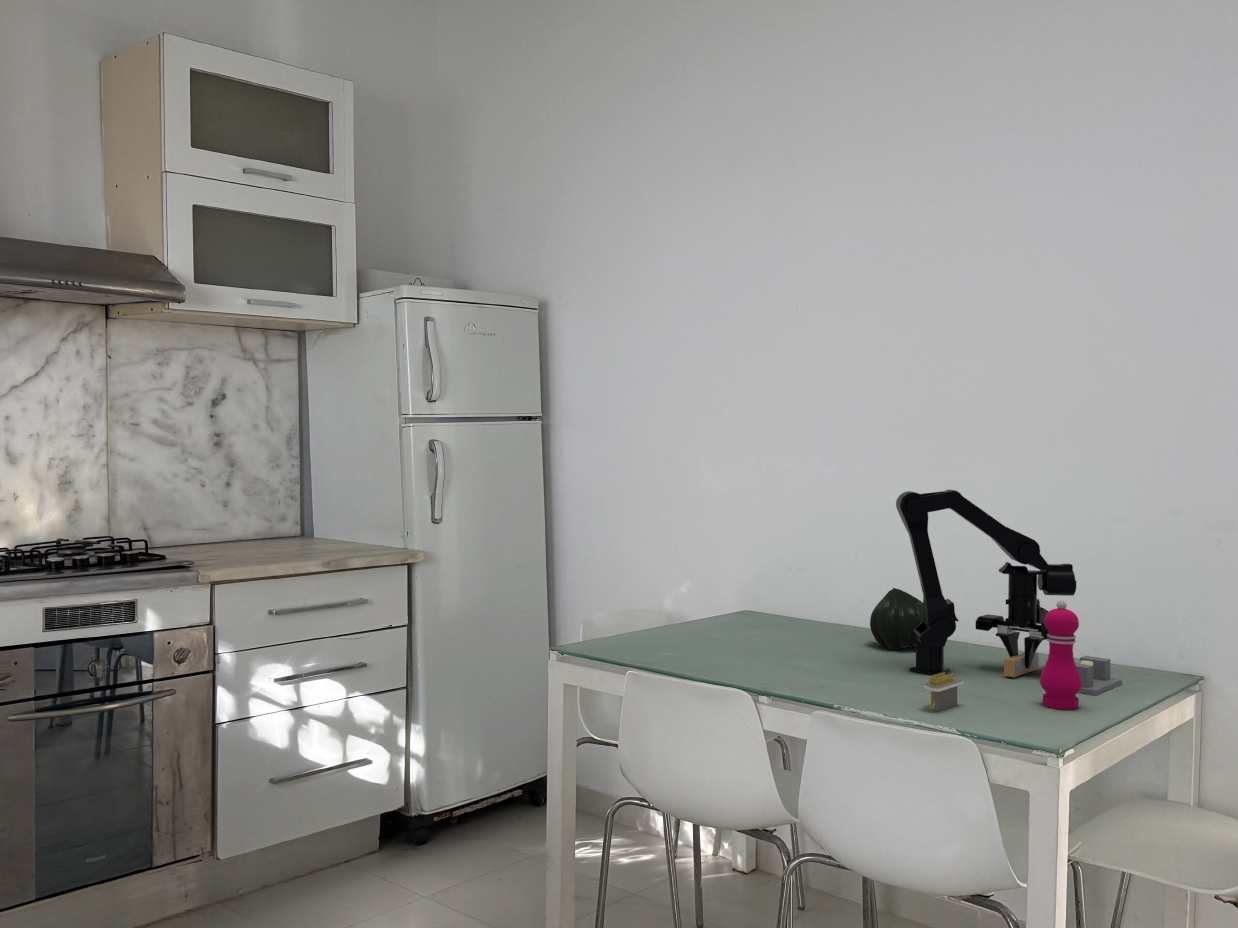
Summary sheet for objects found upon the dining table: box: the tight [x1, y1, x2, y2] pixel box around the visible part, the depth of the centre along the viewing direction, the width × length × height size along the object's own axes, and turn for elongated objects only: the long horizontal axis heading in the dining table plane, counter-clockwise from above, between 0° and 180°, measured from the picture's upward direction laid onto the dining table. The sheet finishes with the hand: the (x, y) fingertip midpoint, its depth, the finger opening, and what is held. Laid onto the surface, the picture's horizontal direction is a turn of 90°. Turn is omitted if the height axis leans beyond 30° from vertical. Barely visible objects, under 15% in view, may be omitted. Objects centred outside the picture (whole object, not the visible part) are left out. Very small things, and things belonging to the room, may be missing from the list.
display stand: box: [1075, 655, 1123, 696], centre depth 209 cm, size 14×9×5 cm, turn 134°
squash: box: [869, 587, 923, 651], centre depth 249 cm, size 14×15×15 cm
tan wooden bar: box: [1003, 651, 1040, 678], centre depth 220 cm, size 12×2×4 cm, turn 134°
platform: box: [922, 672, 965, 713], centre depth 192 cm, size 12×18×7 cm, turn 133°
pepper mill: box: [1039, 599, 1082, 711], centre depth 193 cm, size 7×7×20 cm
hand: (1021, 666), depth 220 cm, fingers closed on tan wooden bar, 2 cm apart
